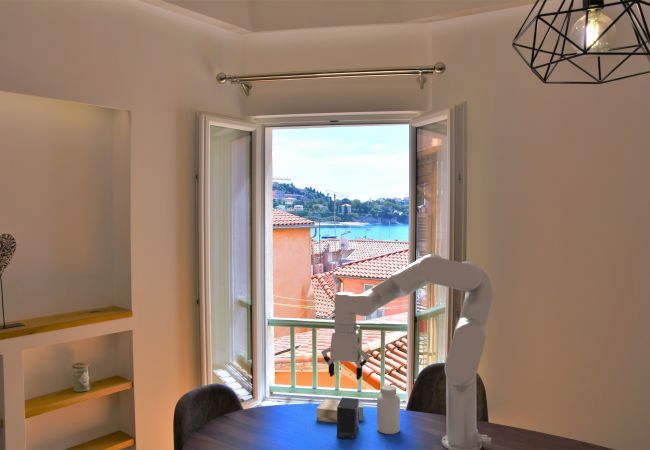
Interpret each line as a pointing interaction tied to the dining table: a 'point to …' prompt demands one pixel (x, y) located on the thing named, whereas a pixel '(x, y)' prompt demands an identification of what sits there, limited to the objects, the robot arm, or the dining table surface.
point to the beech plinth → (328, 411)
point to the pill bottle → (388, 410)
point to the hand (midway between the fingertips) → (345, 377)
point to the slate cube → (360, 411)
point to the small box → (347, 418)
